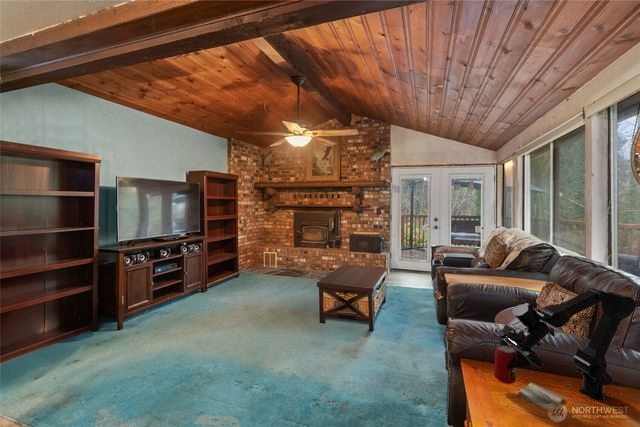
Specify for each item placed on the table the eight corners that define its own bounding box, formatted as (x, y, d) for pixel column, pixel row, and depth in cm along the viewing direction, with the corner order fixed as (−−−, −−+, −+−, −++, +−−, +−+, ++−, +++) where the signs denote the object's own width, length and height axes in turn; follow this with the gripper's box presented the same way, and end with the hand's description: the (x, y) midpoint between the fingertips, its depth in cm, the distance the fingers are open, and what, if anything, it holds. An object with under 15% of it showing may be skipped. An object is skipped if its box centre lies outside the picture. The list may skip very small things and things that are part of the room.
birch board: (529, 384, 113) (529, 381, 113) (563, 399, 105) (563, 396, 105) (516, 395, 106) (516, 392, 106) (551, 413, 97) (551, 409, 97)
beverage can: (518, 386, 105) (520, 354, 104) (498, 384, 106) (499, 351, 106) (510, 376, 111) (511, 345, 111) (491, 373, 113) (492, 343, 112)
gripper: (502, 309, 117) (474, 335, 118) (536, 329, 99) (502, 360, 99) (521, 329, 118) (492, 355, 118) (558, 353, 99) (524, 383, 99)
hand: (501, 362), depth 109 cm, fingers closed on beverage can, 7 cm apart
